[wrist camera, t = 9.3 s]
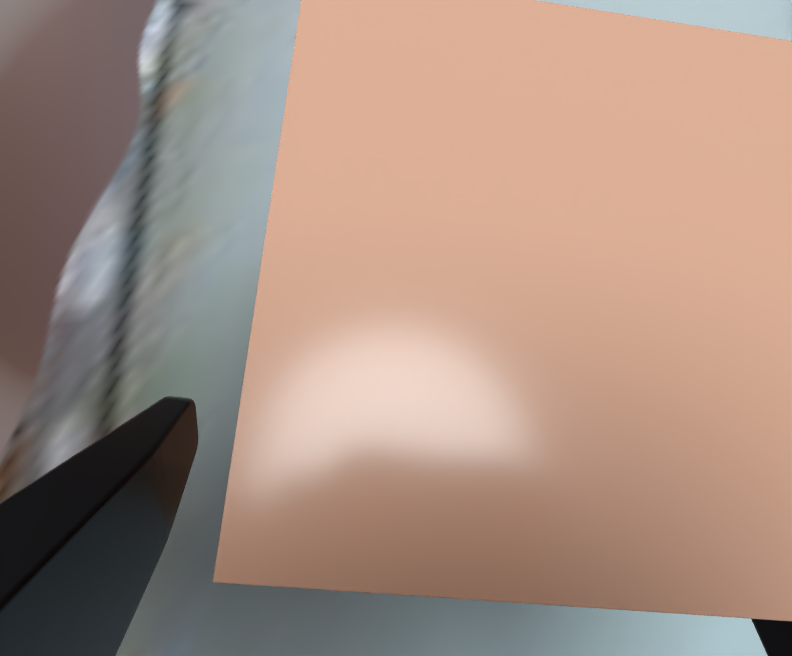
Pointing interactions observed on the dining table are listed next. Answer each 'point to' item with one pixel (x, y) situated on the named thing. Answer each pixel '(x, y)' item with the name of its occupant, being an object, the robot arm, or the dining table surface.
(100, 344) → the dining table surface
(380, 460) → the tall peach box
